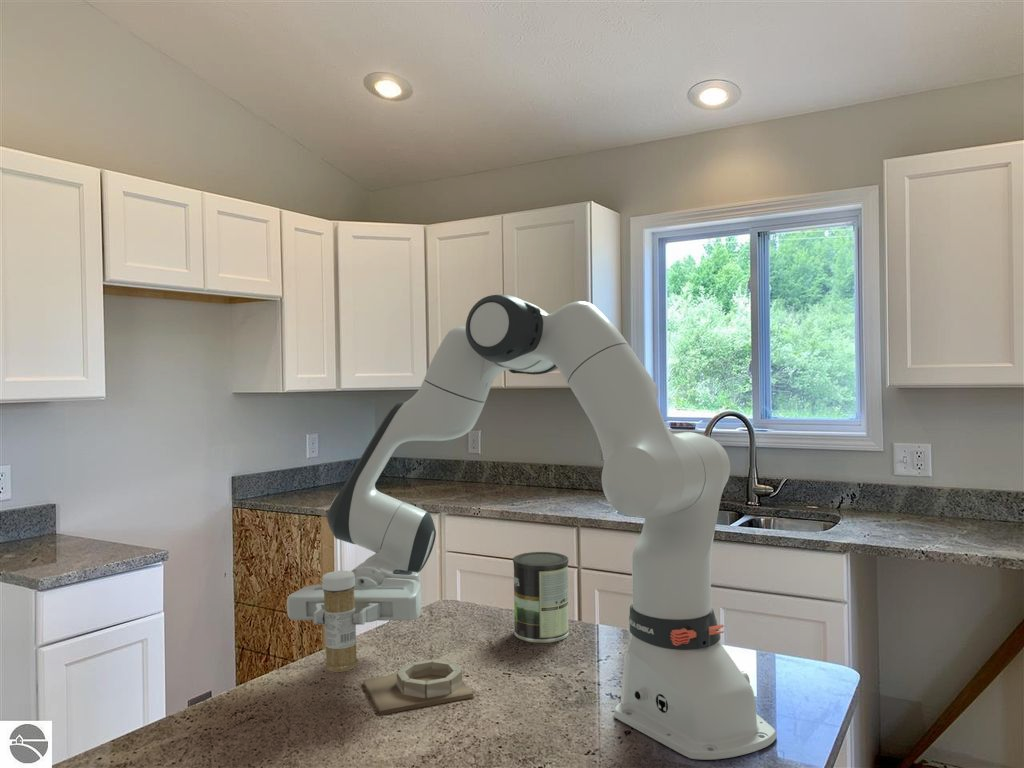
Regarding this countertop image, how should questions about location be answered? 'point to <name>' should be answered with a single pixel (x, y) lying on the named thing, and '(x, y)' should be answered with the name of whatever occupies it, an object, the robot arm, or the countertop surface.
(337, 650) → the sprinkles bottle
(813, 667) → the countertop surface
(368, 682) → the socket board
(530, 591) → the coffee can
